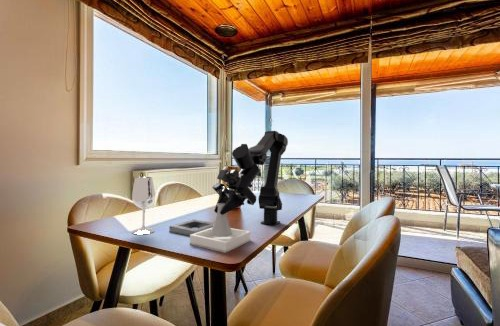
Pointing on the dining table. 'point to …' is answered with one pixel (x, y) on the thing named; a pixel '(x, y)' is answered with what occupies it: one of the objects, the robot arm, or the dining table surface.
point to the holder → (185, 226)
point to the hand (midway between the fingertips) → (218, 213)
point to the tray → (220, 240)
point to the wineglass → (143, 199)
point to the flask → (221, 224)
